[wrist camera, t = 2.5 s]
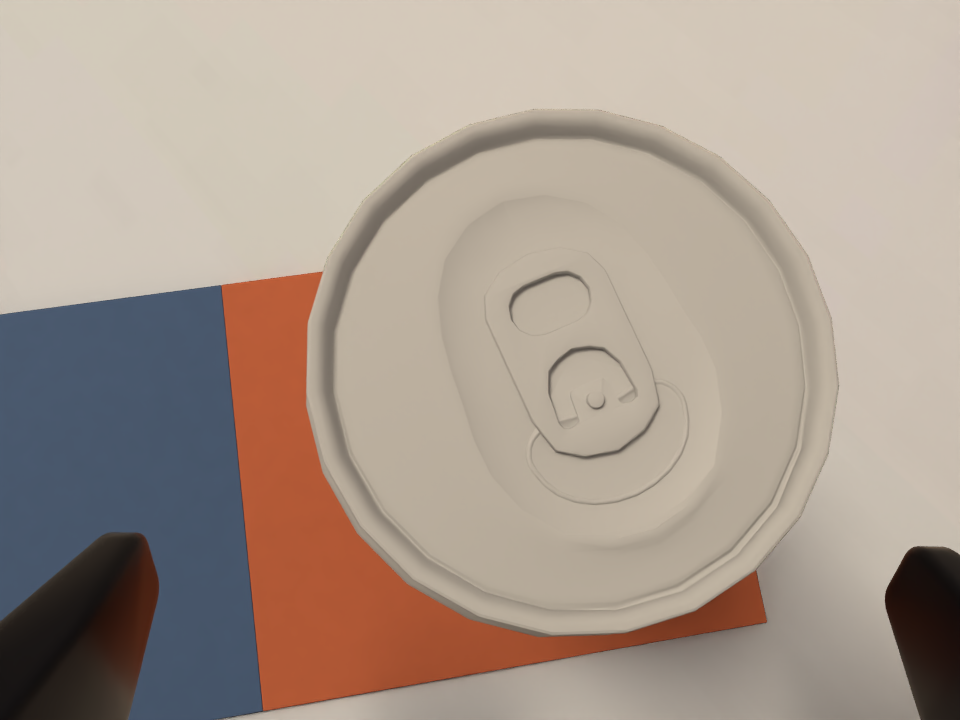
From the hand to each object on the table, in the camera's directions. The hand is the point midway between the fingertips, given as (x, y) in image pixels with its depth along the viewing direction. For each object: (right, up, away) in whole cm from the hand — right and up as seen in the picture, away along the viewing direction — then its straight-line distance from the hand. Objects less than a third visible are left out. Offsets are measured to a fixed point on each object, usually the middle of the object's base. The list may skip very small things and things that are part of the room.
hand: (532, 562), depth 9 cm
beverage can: (0, 0, +9) cm, 9 cm away
